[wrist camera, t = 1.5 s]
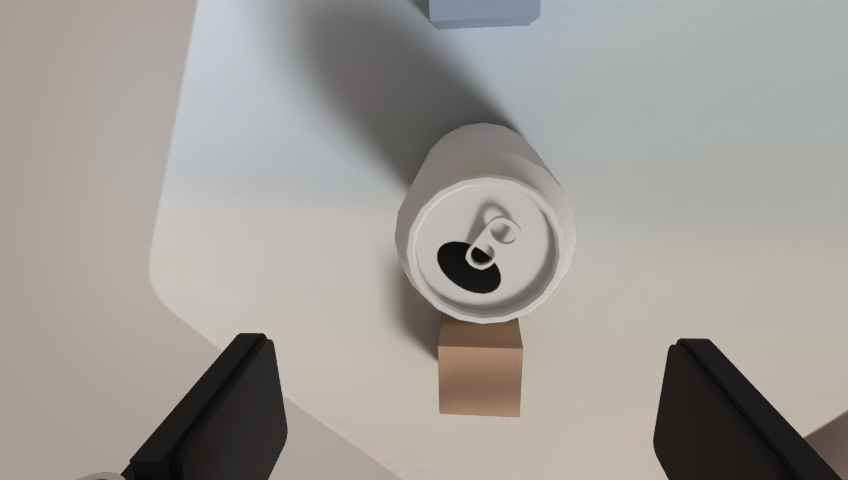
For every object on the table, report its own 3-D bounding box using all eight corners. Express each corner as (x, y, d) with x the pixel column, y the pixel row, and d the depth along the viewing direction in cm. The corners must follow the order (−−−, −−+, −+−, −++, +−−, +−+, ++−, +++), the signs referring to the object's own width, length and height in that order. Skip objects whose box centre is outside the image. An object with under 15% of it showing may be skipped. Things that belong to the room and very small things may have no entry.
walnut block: (443, 305, 32) (437, 346, 27) (515, 307, 32) (522, 349, 27) (444, 365, 34) (439, 413, 29) (513, 368, 33) (519, 417, 29)
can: (397, 194, 29) (351, 271, 18) (469, 94, 27) (465, 114, 16) (490, 259, 30) (500, 371, 19) (567, 169, 28) (630, 238, 17)
